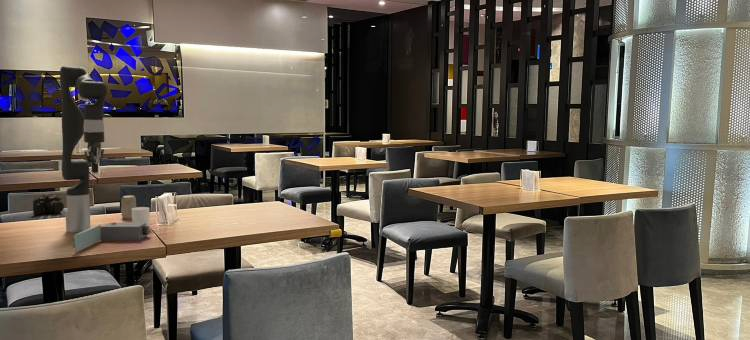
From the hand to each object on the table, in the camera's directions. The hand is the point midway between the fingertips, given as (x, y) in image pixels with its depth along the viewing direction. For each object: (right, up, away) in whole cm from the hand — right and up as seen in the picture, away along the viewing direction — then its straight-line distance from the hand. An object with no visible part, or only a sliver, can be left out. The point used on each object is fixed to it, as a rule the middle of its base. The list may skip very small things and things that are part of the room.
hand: (95, 172), depth 233 cm
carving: (-11, -25, +59) cm, 65 cm away
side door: (-1, -30, -3) cm, 30 cm away
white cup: (+6, -27, +32) cm, 43 cm away
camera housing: (+6, -29, +12) cm, 32 cm away
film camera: (-62, -23, +75) cm, 100 cm away
